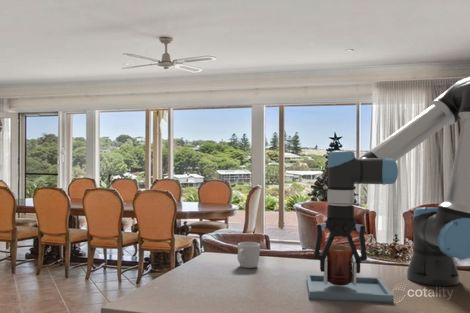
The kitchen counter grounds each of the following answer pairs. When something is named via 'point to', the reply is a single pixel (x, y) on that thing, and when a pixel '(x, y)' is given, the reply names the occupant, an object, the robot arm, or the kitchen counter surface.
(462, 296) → the kitchen counter surface
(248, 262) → the cup
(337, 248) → the mug
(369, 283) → the tray
